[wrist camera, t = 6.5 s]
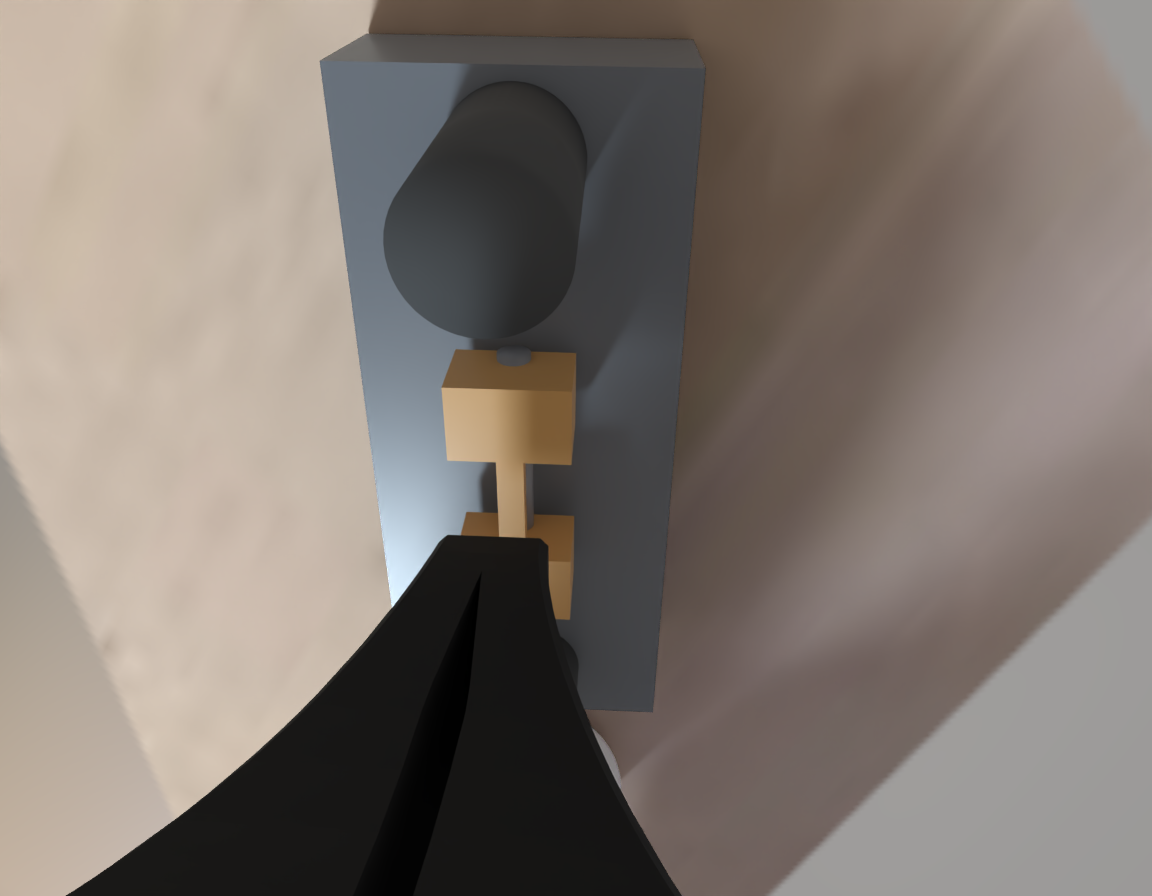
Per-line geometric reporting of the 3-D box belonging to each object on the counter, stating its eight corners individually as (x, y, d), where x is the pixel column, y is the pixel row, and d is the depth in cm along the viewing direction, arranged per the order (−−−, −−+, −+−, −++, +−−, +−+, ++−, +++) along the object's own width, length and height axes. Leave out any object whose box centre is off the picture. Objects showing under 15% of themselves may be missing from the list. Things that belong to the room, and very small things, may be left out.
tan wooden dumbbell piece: (573, 575, 16) (569, 624, 15) (470, 572, 16) (459, 619, 15) (576, 347, 13) (572, 384, 12) (454, 343, 13) (441, 380, 12)
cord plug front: (590, 226, 13) (582, 335, 10) (451, 233, 13) (400, 342, 10) (582, 76, 12) (569, 148, 9) (429, 85, 12) (366, 158, 9)
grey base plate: (650, 624, 20) (653, 712, 18) (427, 615, 20) (404, 701, 18) (693, 39, 14) (705, 68, 11) (367, 33, 14) (319, 61, 12)
